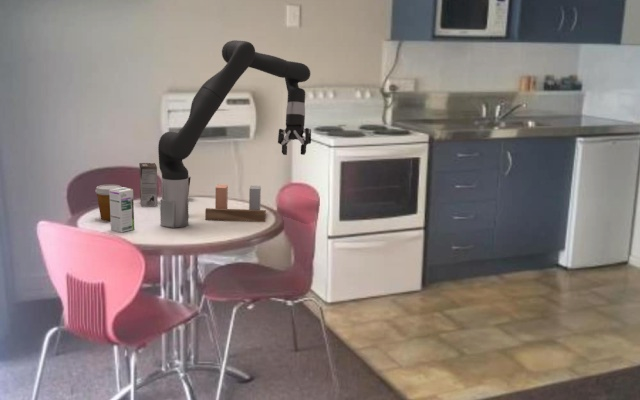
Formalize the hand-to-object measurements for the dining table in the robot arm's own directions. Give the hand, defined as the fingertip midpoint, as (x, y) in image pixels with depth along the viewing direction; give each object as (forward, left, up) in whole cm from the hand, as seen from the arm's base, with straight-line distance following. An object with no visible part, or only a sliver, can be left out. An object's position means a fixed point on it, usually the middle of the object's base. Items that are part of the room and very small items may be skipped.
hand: (293, 154), depth 269 cm
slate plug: (-16, +7, -22) cm, 28 cm away
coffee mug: (-18, +45, -22) cm, 53 cm away
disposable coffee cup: (-56, +45, -22) cm, 75 cm away
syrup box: (-64, +31, -22) cm, 74 cm away
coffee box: (-30, +50, -22) cm, 62 cm away
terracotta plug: (-23, +19, -22) cm, 37 cm away
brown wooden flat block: (-26, +10, -22) cm, 35 cm away
